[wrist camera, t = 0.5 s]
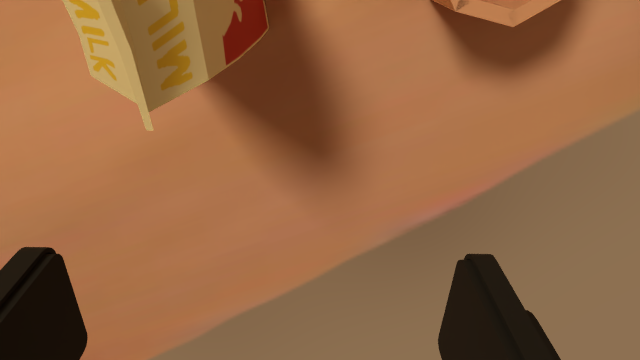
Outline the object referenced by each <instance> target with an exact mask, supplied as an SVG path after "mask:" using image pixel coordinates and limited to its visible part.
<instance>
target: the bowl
mask: <svg viewBox="0 0 640 360" xmlns="http://www.w3.org/2000/svg"><path fill="white" fill-rule="evenodd" d="M433 1H435V2H437V3H439V4H441V5H443V6H445V7H447V8H449V9H451V10H453V11H455V12H459V13H463V14H467V15H470V16H474V17H478V18H481V19H485V20H489V21H492V22H496V23H500V24H503V25H507V26H511V27H514V26H516V25H518V24H520V23H522V22H523V21H525V20H527V19H529V18H530V17H532V16H534V15H536V14H537V13H539V12H541V11H543V10H545V9H546V8H548V7H550V6H552V5H553V4H555V3H557V2H559V1H560V0H433Z"/></svg>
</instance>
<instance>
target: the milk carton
mask: <svg viewBox="0 0 640 360" xmlns="http://www.w3.org/2000/svg"><path fill="white" fill-rule="evenodd" d="M63 2H64V5H65V7H66V9H67V11H68V13H69V15H70V17H71V19H72V21H73V23H74V26H75V28H76V30H77V32H78V34H79V37H80V41H81V44H82V47H83V51H84V54H85V58H86V61H87V64H88V68H89V71H90V75H91V76H92V77H94V78H95V79H97V80H99V81H100V82H102V83H104V84H105V85H107V86H109V87H110V88H112V89H114V90H115V91H117V92H118V93H120V94H122V95H123V96H125V97H127V98H128V99H130V100H132V101H133V102H135V103H137V104H138V107H139V110H140V113H141V116H142V119H143V122H144V125H145V128H146V130H153V126H152V123H151V119H150V116H149V112H150V111H152V110H154V109H156V108H158V107H159V106H161V105H163V104H165V103H167V102H169V101H171V100H173V99H174V98H176V97H178V96H180V95H182V94H184V93H186V92H188V91H189V90H191V89H193V88H195V87H197V86H199V85H201V84H203V83H204V82H206V81H208V80H210V79H211V78H213V77H214V76H215V75H217V74H218V73H220V72H221V71H223V70H224V69H226V68H227V67H228V66H230V65H231V64H233V63H234V62H236V61H237V60H238V59H240V58H241V57H242V56H243V55H244V54H245V53H246V52H247V51H249V50H250V49H251V48H252V47H253V46H254V45H255V44H256V43H257V42H259V41H260V40H261V38H262V37H263V36H264V35H265V33H266V32H267V31H268V29H269V24H268V18H267V12H266V6H265V1H264V0H63ZM153 131H154V130H153Z"/></svg>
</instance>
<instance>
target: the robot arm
mask: <svg viewBox="0 0 640 360" xmlns="http://www.w3.org/2000/svg"><path fill="white" fill-rule="evenodd" d="M86 344H87V332H86V329H85V325H84V322H83V319H82V316H81V313H80V310H79V307H78V304H77V301H76V297H75V294H74V291H73V288H72V285H71V282H70V279H69V276H68V273H67V269H66V266H65V263H64V260H63V258H62V256H61V255H60V254H56V252H55V250H53V249H52V248H49V247H24V248H21V249H20V250H19V251H18V252H17V253H16V254H15V255H14V256H13V257H12V258H11V259H10V260H9V261H8V263H7V264H6V265H5V266H4V267H3V268H2V269H1V270H0V360H79V359H80V358H81V356H82V354H83V352H84V350H85V348H86ZM438 344H439V351H440V354H441V358H442V360H561V359H560V358H559V356H558V354H557V353H556V351H555V349H554V347H553V346H552V344H551V343H550V341H549V339H548V338H547V336H546V334H545V332H544V331H543V329H542V327H541V326H540V324H539V322H538V321H537V319H536V318H535V316H534V315H533V314H532V313H531V312H529V311H528V310H525V309H524V307H523V305H522V304H521V302H520V300H519V299H518V297H517V295H516V293H515V291H514V290H513V288H512V286H511V285H510V283H509V281H508V279H507V278H506V276H505V275H504V273H503V271H502V269H501V268H500V266H499V264H498V262H497V261H496V259H495V258H494V256H493V255H491V254H467V255H466V256H465V258H464V260H459V261H458V262H457V265H456V269H455V273H454V277H453V281H452V285H451V289H450V293H449V297H448V301H447V305H446V309H445V313H444V317H443V321H442V325H441V329H440V333H439V338H438Z"/></svg>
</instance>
